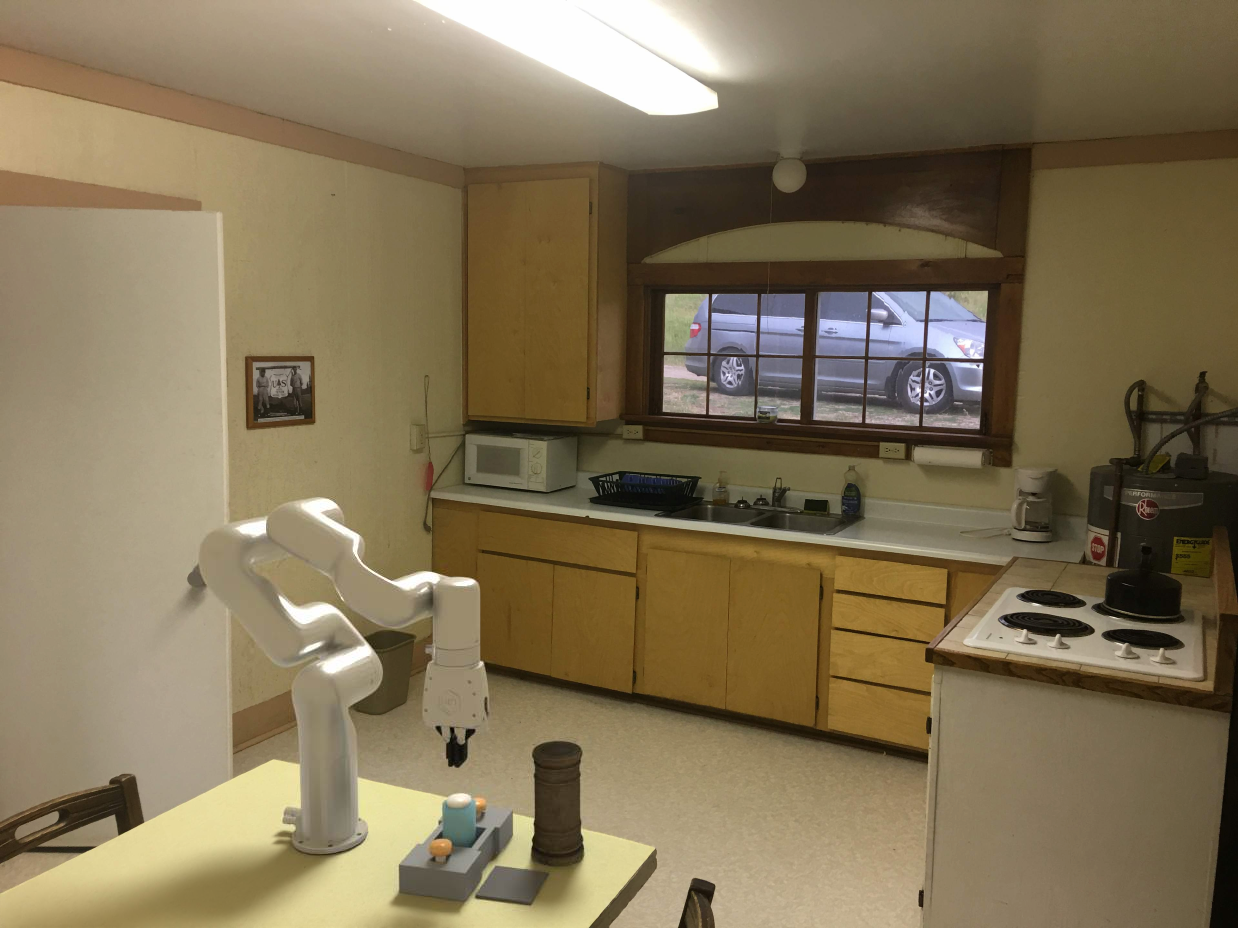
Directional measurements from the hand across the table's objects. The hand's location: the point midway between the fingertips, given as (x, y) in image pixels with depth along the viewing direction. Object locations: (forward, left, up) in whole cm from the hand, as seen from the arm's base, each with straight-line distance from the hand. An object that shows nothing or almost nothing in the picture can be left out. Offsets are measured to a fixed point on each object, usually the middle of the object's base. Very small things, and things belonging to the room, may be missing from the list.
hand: (456, 763), depth 153 cm
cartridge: (0, 0, -17) cm, 17 cm away
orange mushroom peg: (0, +8, -16) cm, 18 cm away
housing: (0, 0, -17) cm, 17 cm away
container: (+15, +7, -17) cm, 24 cm away
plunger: (0, -7, -16) cm, 18 cm away
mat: (+11, -5, -17) cm, 21 cm away
